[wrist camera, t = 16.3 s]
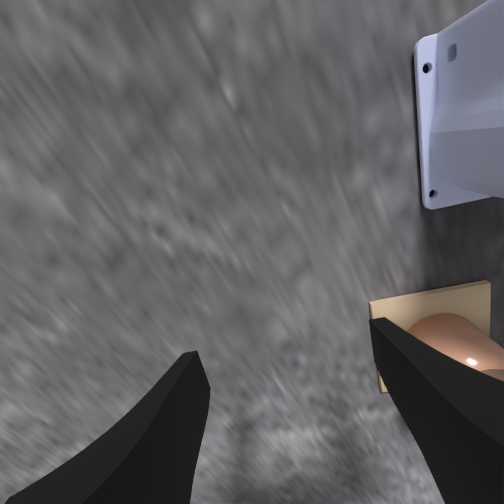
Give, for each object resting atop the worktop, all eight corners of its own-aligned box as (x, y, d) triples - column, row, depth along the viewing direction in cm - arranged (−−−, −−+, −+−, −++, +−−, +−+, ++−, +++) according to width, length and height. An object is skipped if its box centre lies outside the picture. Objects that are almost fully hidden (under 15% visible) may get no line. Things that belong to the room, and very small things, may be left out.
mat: (368, 301, 22) (371, 305, 21) (485, 279, 21) (490, 282, 20) (380, 387, 24) (382, 392, 24) (484, 371, 23) (489, 376, 23)
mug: (397, 320, 22) (435, 369, 17) (479, 306, 21) (542, 353, 16) (405, 412, 24) (439, 477, 20) (478, 402, 24) (531, 466, 19)
